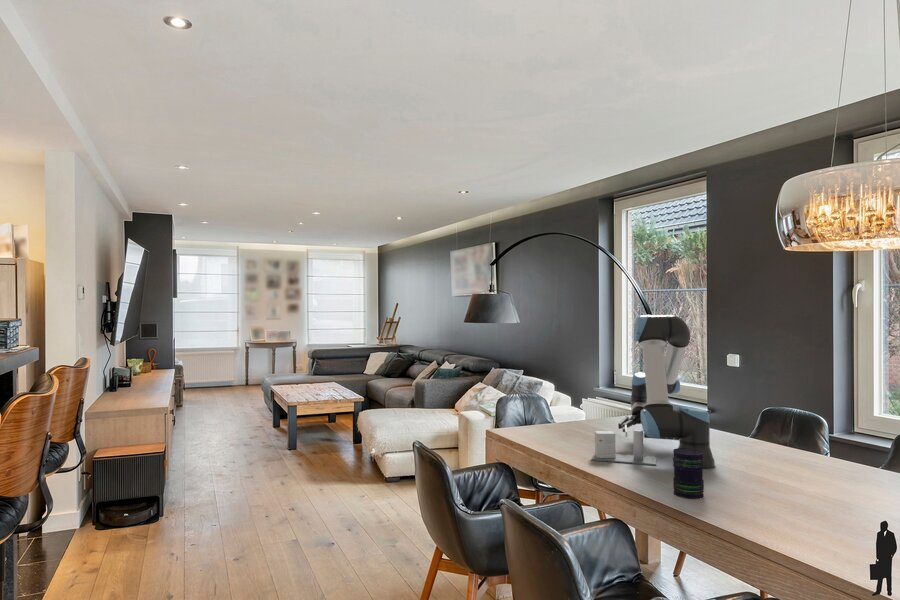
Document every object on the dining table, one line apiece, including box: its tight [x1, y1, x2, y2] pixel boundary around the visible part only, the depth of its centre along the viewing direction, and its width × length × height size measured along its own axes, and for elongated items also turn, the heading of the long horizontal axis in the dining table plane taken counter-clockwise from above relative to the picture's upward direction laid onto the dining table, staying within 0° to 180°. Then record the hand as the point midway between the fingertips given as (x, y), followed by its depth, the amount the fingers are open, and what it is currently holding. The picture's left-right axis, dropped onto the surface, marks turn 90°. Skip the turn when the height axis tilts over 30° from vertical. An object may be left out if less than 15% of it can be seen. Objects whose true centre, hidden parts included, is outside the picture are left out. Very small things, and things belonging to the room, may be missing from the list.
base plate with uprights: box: [590, 429, 657, 466], centre depth 248 cm, size 26×12×13 cm, turn 71°
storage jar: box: [672, 447, 705, 500], centre depth 200 cm, size 10×10×15 cm
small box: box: [594, 430, 617, 458], centre depth 250 cm, size 8×6×10 cm
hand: (642, 434), depth 258 cm, fingers open, 13 cm apart
